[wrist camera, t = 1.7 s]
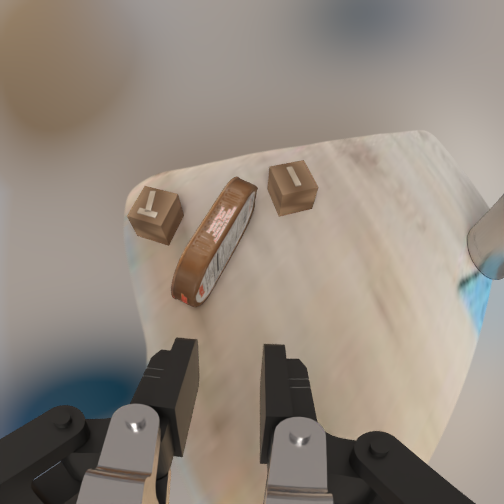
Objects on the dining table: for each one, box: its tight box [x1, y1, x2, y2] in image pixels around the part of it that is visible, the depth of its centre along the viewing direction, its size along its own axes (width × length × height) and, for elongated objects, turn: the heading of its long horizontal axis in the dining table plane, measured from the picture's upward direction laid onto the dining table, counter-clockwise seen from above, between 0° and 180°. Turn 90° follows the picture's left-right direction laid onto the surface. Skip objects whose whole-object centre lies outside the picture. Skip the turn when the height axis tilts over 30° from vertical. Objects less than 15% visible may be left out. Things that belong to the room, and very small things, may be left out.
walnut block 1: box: [268, 160, 318, 216], centre depth 40 cm, size 4×4×5 cm
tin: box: [171, 177, 258, 307], centre depth 34 cm, size 15×3×8 cm, turn 155°
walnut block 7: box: [127, 186, 184, 245], centre depth 37 cm, size 4×4×5 cm
